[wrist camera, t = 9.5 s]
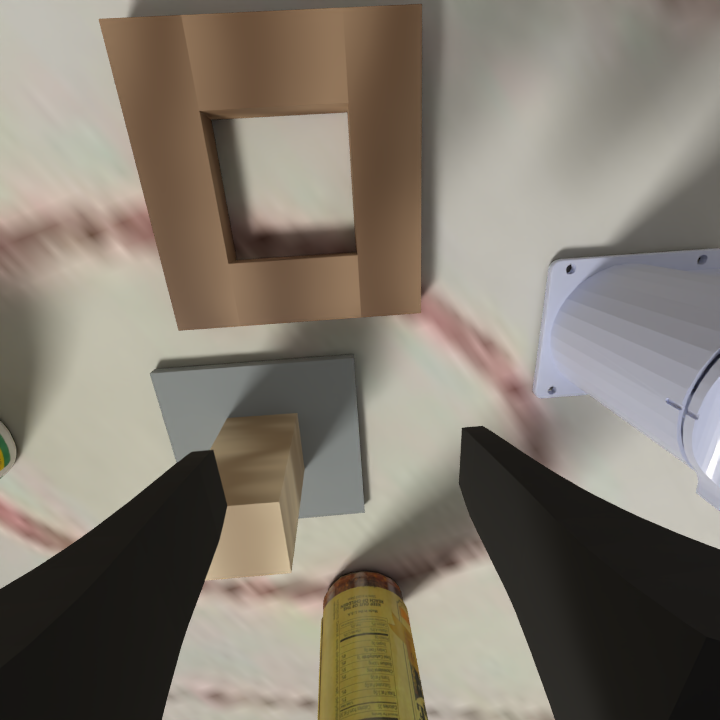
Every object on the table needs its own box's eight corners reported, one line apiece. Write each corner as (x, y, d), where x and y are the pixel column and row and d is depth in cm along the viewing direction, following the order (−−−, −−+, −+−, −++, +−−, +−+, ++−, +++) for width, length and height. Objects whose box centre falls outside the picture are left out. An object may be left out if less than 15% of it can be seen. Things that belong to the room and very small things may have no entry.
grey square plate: (353, 354, 20) (353, 357, 20) (363, 505, 25) (364, 512, 24) (155, 369, 20) (149, 373, 20) (199, 520, 24) (196, 527, 24)
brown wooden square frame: (414, 23, 15) (421, 3, 14) (415, 306, 20) (420, 313, 18) (121, 37, 15) (98, 18, 13) (190, 322, 19) (178, 330, 18)
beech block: (297, 412, 21) (279, 502, 14) (304, 469, 22) (291, 573, 16) (227, 417, 21) (177, 509, 14) (239, 474, 22) (198, 580, 16)
